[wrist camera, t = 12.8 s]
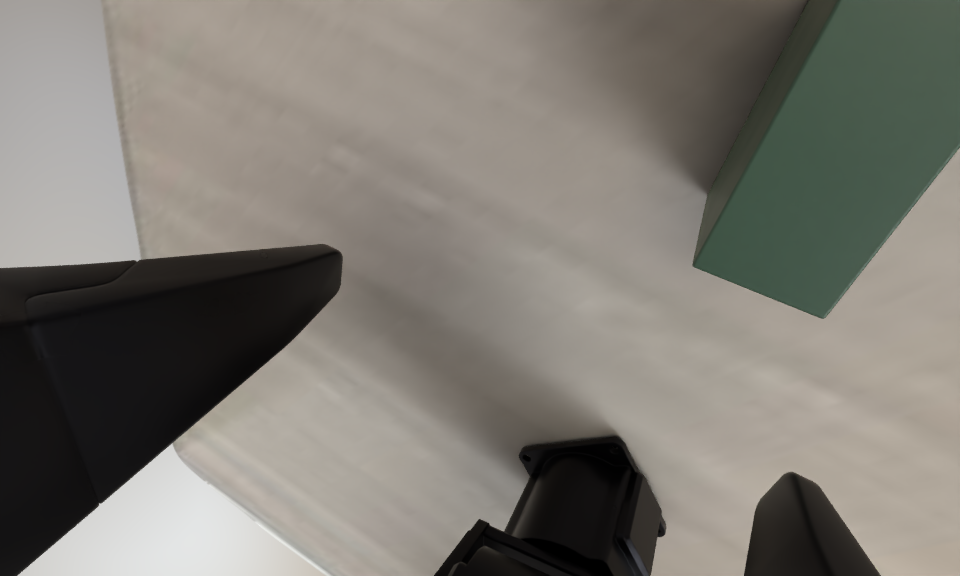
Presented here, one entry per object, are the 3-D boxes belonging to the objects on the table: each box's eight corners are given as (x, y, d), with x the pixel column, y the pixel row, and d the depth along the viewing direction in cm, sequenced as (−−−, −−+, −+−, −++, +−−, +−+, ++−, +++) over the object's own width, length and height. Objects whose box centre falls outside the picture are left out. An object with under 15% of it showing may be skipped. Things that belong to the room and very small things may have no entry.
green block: (799, 229, 18) (824, 321, 12) (706, 196, 19) (690, 267, 13) (940, 16, 14) (1072, 7, 8) (815, -14, 15) (859, -40, 9)
